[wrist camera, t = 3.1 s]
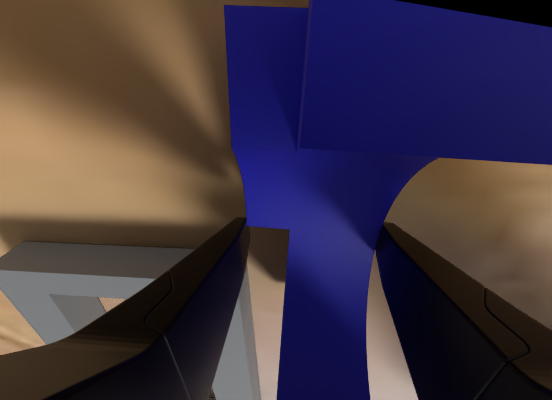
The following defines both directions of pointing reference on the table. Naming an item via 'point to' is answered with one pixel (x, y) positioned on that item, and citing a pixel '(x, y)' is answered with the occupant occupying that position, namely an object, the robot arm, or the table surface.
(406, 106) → the blue curved bracket
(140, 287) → the gray rectangular open frame
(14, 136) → the table surface
